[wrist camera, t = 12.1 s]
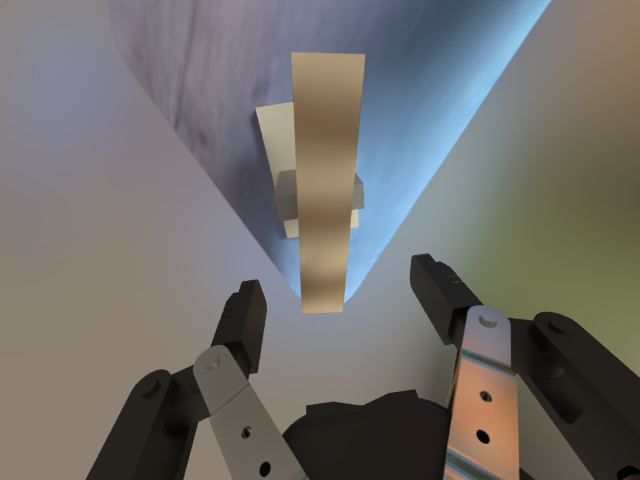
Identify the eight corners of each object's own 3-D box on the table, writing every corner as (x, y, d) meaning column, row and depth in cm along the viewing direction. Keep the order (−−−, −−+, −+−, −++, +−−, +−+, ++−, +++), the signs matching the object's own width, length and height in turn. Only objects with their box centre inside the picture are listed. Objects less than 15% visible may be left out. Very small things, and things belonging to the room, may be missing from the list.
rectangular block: (337, 284, 27) (342, 311, 23) (301, 285, 26) (302, 313, 23) (351, 63, 16) (365, 54, 13) (292, 61, 16) (291, 52, 13)
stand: (257, 107, 26) (237, 112, 17) (348, 92, 26) (373, 90, 17) (287, 233, 34) (284, 278, 26) (356, 222, 34) (375, 264, 26)
